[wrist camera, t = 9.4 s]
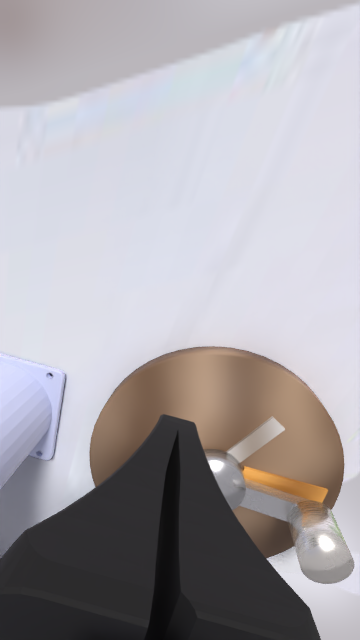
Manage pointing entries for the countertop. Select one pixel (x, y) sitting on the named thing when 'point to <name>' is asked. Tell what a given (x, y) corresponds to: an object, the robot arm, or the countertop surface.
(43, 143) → the countertop surface
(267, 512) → the silver dumbbell
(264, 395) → the dial plate
